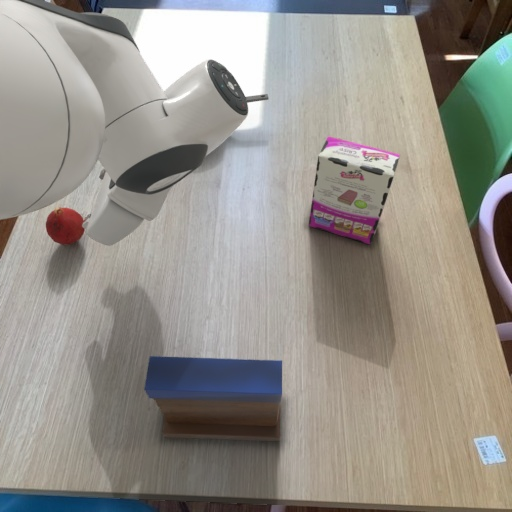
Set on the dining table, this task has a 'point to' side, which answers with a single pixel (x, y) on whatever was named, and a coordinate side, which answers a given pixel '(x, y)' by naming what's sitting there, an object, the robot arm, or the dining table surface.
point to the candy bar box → (351, 188)
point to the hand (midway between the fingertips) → (96, 200)
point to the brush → (217, 397)
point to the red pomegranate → (65, 226)
